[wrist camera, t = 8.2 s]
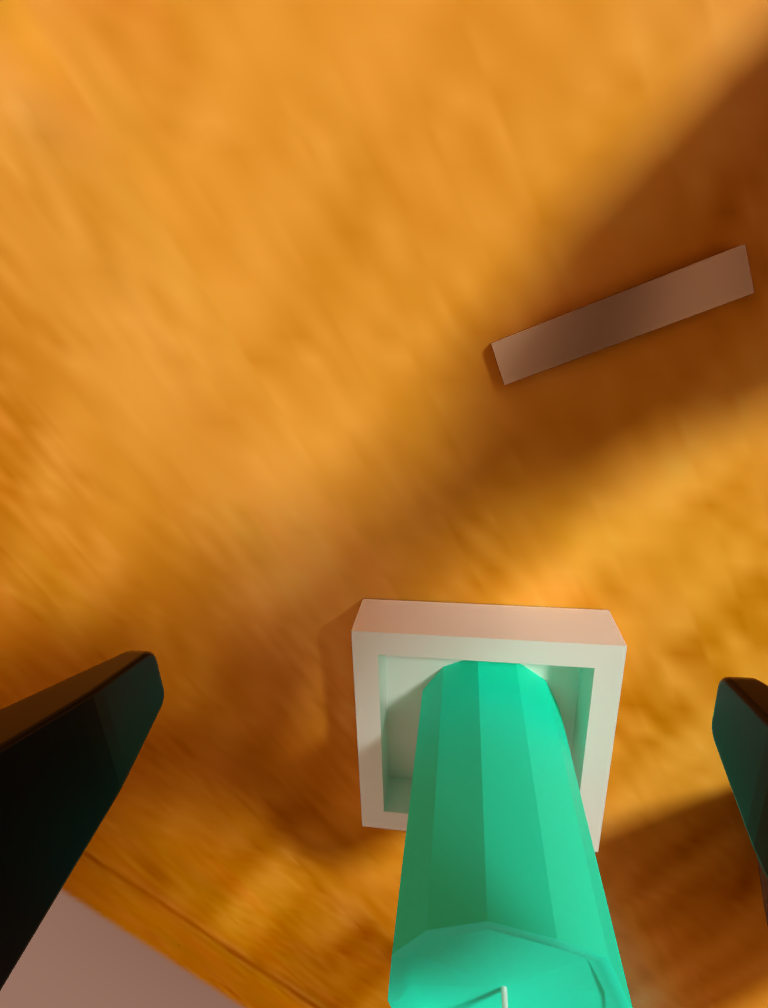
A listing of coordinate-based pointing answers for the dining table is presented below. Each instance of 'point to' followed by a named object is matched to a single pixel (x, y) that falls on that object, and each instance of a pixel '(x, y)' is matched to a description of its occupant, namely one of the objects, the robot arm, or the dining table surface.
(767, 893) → the plant pot
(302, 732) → the dining table surface
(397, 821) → the white square tray
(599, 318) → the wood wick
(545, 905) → the candle
